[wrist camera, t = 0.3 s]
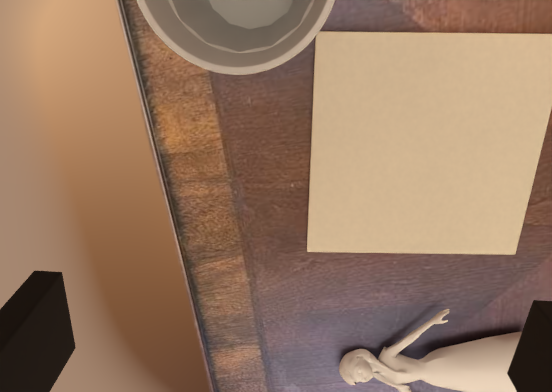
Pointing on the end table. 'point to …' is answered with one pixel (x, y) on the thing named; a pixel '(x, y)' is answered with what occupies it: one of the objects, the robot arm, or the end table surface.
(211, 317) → the end table surface
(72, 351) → the robot arm
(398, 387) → the woman figurine
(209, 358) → the end table surface
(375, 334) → the end table surface
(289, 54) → the cup
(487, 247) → the napkin
